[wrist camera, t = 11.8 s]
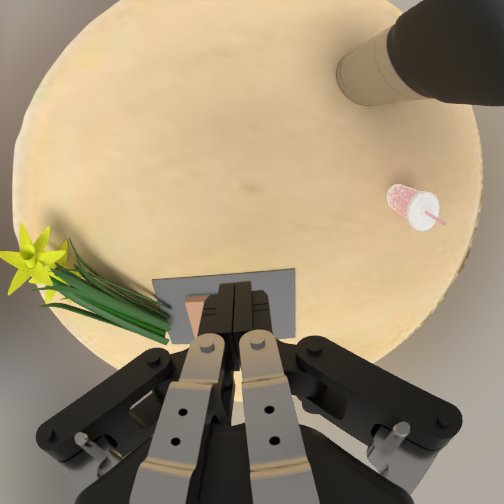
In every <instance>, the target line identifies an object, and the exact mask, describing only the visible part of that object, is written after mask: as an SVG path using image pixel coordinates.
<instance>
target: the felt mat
mask: <svg viewBox="0 0 504 504" xmlns="http://www.w3.org/2000/svg"><path fill="white" fill-rule="evenodd" d="M242 281H251V283H252V291H256V290H264V292H265V293H266V294H267V295H268V298H269V306H270V315H271V323H272V331H273V334H274V336H275V337H276V338H277V339H286V338H295V268H294V269H283V270H272V271H260V272H248V273H235V274H223V275H209V276H196V277H181V278H166V279H152V284H153V287H154V290H155V294H156V297H157V300H158V302H159V303H161V304H163V305H166V306H168V307H170V308H172V310H170V309H167V308H165V307H163V306H160V305H159V306H160V310H161V313H163V314H166V315H168V316H170V318H166V317H165V318H166V321H168V323H170V324H171V325H170V327H171V330H170V331H169V332H168V333H169V336H170V339H171V342H172V344H191V342H192V341H193V340H194V339H195V337H194V334H193V330H192V327H191V323H190V319H189V316H188V312H187V308H186V305H185V301H186V298H187V295H192V294H209V293H218V290H219V284H220V283H231V282H235V284H236V282H242ZM163 317H164V316H163Z"/></svg>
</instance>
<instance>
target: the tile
mask: <svg viewBox="0 0 504 504" xmlns="http://www.w3.org/2000/svg"><path fill="white" fill-rule="evenodd" d="M213 294H218V293H209V294H192V295H187V298H186V301H185V305H186V308H187V312H188V316H189V319H190V323H191V327H192V330H193V334H194V337H195V338H196V337H197V334H198V329H199V324H200V319H201V316H202V310H203V305H204V301H205V300H206V299H207V298H208V296H209V295H213Z"/></svg>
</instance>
